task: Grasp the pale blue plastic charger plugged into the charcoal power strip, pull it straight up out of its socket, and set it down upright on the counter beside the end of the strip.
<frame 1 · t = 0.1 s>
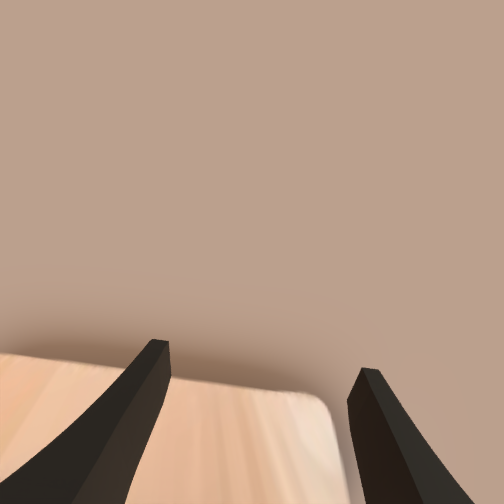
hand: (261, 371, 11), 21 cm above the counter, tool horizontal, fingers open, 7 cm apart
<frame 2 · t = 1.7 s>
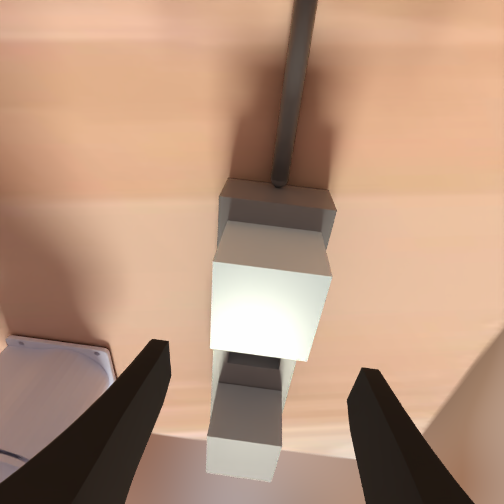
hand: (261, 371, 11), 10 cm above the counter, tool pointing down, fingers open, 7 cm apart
charger: (269, 249, 19), point 1 cm above the counter, touching power strip
power strip: (258, 318, 23), on the counter
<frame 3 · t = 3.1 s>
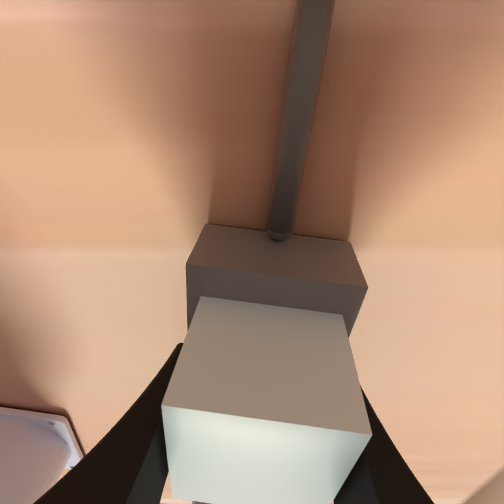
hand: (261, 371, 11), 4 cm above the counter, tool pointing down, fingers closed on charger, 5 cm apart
charger: (264, 320, 13), point 1 cm above the counter, touching gripper, power strip
power strip: (252, 391, 18), on the counter
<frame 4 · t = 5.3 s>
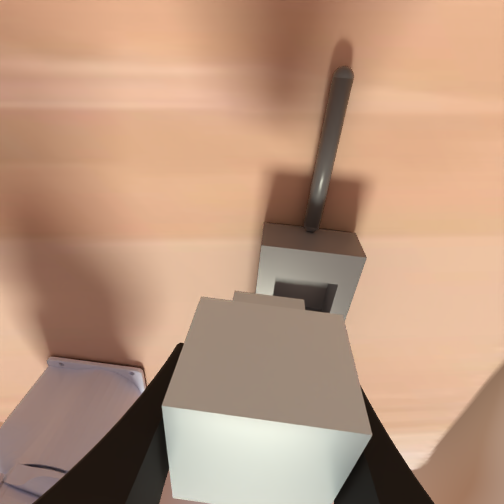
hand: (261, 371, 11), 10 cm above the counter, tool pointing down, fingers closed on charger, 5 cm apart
charger: (265, 320, 13), point 8 cm above the counter, touching gripper
power strip: (285, 342, 25), on the counter
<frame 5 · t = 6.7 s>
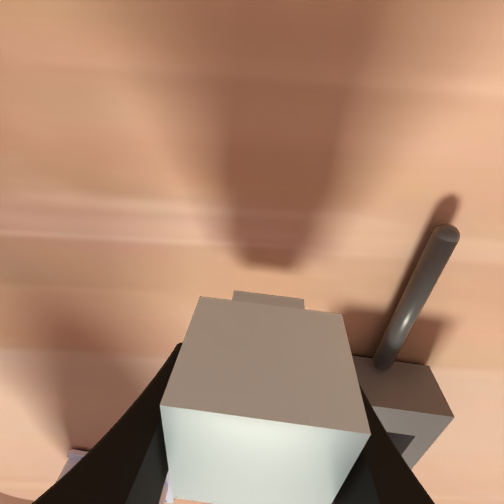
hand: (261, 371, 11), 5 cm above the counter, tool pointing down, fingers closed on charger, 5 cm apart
charger: (265, 320, 13), point 2 cm above the counter, touching gripper
power strip: (332, 451, 23), on the counter
when the fingers open (4 cm above the counter, at t = 7.8 s): charger drops 2 cm, on the counter.
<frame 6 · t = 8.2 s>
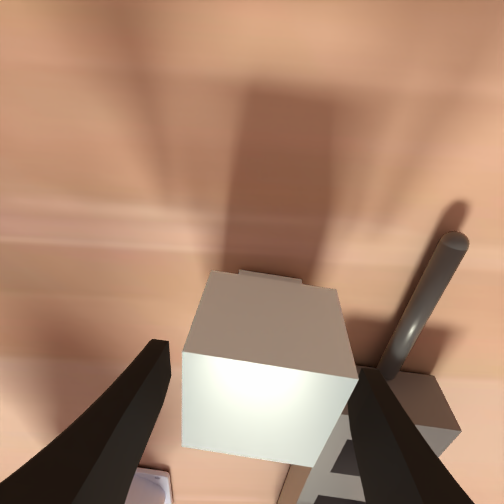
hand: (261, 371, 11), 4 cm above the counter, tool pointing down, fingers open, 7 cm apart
charger: (265, 298, 15), on the counter
power strip: (333, 460, 22), on the counter
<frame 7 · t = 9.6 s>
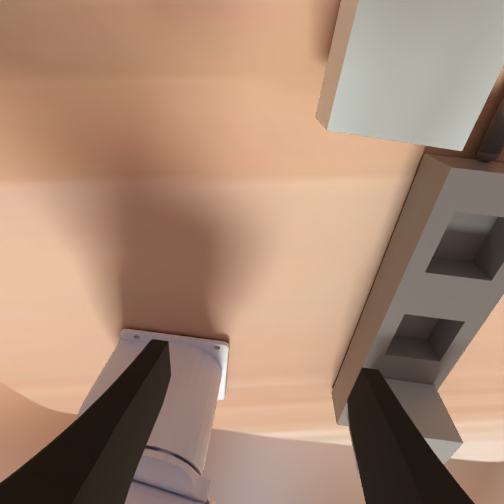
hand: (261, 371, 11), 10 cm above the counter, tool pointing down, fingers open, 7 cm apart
charger: (374, 60, 15), on the counter
power strip: (406, 308, 22), on the counter
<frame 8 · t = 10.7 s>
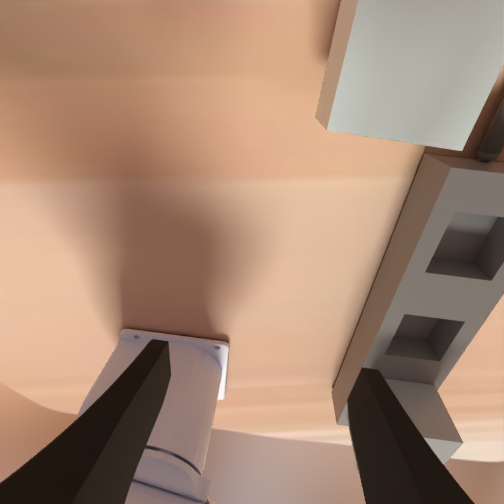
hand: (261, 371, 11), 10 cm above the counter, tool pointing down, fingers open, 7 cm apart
charger: (374, 60, 15), on the counter
power strip: (406, 308, 22), on the counter
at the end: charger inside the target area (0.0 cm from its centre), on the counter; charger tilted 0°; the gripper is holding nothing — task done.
